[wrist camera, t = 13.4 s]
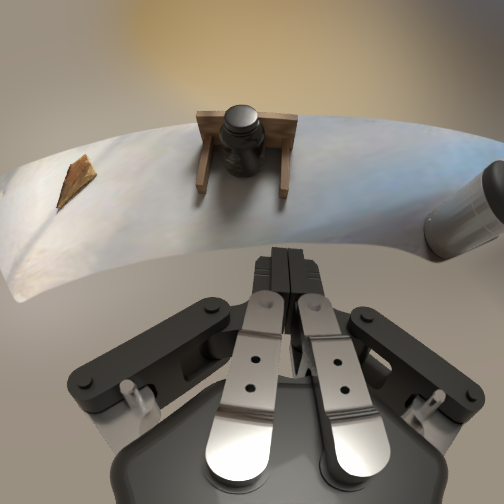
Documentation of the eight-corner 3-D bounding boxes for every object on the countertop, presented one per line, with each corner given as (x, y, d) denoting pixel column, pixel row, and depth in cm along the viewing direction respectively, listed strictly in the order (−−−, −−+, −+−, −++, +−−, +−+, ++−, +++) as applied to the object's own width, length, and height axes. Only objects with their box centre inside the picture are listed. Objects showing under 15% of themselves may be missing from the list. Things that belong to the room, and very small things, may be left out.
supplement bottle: (271, 169, 47) (274, 124, 35) (234, 185, 46) (227, 141, 35) (253, 141, 48) (252, 94, 37) (218, 155, 48) (208, 109, 36)
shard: (60, 211, 46) (55, 207, 45) (51, 187, 48) (46, 183, 46) (99, 176, 48) (95, 172, 46) (88, 155, 50) (84, 150, 48)
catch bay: (292, 143, 48) (297, 114, 40) (291, 198, 45) (297, 173, 38) (204, 139, 49) (197, 111, 41) (194, 193, 46) (183, 168, 38)
